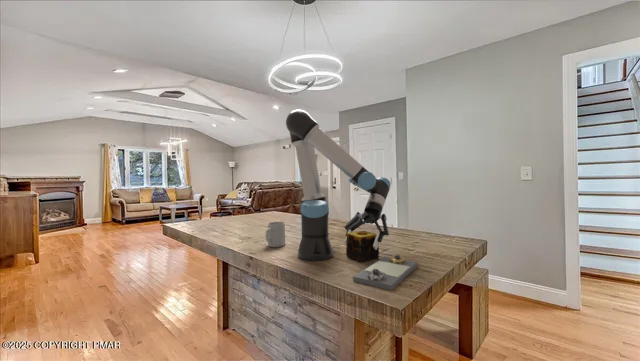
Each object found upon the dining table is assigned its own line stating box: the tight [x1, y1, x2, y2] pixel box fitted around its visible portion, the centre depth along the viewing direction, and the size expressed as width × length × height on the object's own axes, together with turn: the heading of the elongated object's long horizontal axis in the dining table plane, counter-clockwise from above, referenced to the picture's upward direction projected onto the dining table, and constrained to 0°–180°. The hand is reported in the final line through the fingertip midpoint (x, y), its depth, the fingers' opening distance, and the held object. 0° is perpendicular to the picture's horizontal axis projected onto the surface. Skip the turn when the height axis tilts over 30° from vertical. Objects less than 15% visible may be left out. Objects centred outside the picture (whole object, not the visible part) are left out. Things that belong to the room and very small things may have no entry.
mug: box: [265, 221, 286, 248], centre depth 136 cm, size 12×8×11 cm
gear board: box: [352, 254, 418, 291], centre depth 96 cm, size 13×26×4 cm, turn 144°
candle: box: [345, 230, 380, 263], centre depth 115 cm, size 10×10×10 cm
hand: (359, 246), depth 113 cm, fingers closed on candle, 13 cm apart
